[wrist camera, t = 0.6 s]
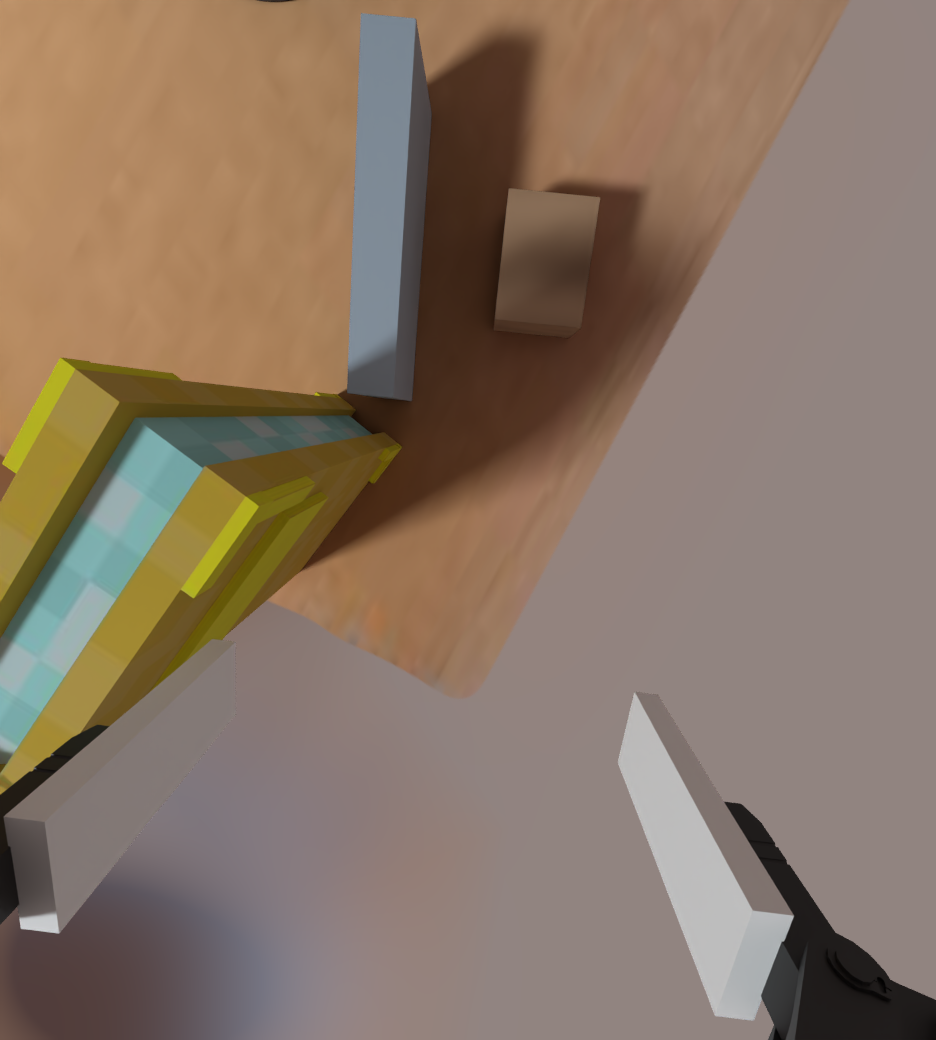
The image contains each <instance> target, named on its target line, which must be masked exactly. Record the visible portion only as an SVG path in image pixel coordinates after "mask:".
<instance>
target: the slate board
mask: <svg viewBox="0 0 936 1040" xmlns="http://www.w3.org/2000/svg"><path fill="white" fill-rule="evenodd" d="M431 118H432V112H431V106H430V100H429V94H428V88H427V82H426V76H425V70H424V64H423V58H422V52H421V46H420V40H419V34H418V28H417V22H416V19H414V18H404V17H394V16H383V15H373V14H362V13H361V29H360V57H359V84H358V111H357V138H356V166H355V193H354V220H353V248H352V275H351V302H350V330H349V357H348V384H347V393H350V394H357V395H363V396H370V397H376V398H386V399H396V400H406V401H412V394H413V380H414V365H415V351H416V336H417V322H418V307H419V293H420V278H421V264H422V249H423V235H424V220H425V206H426V191H427V177H428V162H429V148H430V133H431Z"/></svg>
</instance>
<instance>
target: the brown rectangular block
mask: <svg viewBox="0 0 936 1040" xmlns="http://www.w3.org/2000/svg"><path fill="white" fill-rule="evenodd" d="M599 203H600V197H592V196H582V195H572V194H562V193H552V192H542V191H532V190H522V189H512V188H509V191H508V199H507V208H506V216H505V225H504V235H503V244H502V254H501V263H500V272H499V282H498V291H497V301H496V310H495V320H494V329H493V330H495V331H505V332H515V333H524V334H534V335H544V336H554V337H564V338H570V337H571V336H572V335H573V334H575V333H576V332H577V331H578V330H579V329H580V328H581V325H582V318H583V311H584V304H585V298H586V291H587V284H588V277H589V271H590V264H591V257H592V250H593V244H594V237H595V230H596V223H597V216H598V210H599Z"/></svg>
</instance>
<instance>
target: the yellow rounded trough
mask: <svg viewBox="0 0 936 1040" xmlns="http://www.w3.org/2000/svg"><path fill="white" fill-rule="evenodd" d="M355 411H356V409H355V408H353V407H352V406H351V405H350V404H348V403H347V402H346V401H345V400H343V399H342V398H341V397H340V396H338V395H337V394H326V393H319V392H316V393H315V394H314V395H307V394H298V393H289V392H280V391H271V390H262V389H253V388H244V387H234V386H225V385H216V384H207V383H198V382H189V381H182V380H181V379H180V378H178V377H177V376H176V375H174V374H173V373H165V372H158V371H150V370H142V369H135V368H127V367H119V366H112V365H104V364H97V363H91V362H89V361H82V360H75V359H67V358H60V359H59V361H58V363H57V365H56V366H55V368H54V370H53V372H52V374H51V376H50V377H49V379H48V381H47V383H46V385H45V386H44V388H43V390H42V392H41V394H40V395H39V397H38V399H37V401H36V403H35V405H34V406H33V408H32V410H31V412H30V414H29V415H28V417H27V419H26V421H25V423H24V425H23V426H22V428H21V430H20V432H19V434H18V435H17V437H16V439H15V441H14V443H13V444H12V446H11V448H10V450H9V452H8V454H7V455H6V457H5V459H4V461H3V463H2V464H3V465H5V466H6V467H7V468H9V469H10V470H12V471H13V472H15V473H16V476H15V477H14V479H13V481H12V483H11V484H10V486H9V488H8V490H7V492H6V493H5V495H4V497H3V499H2V500H1V502H0V794H2V793H3V792H4V791H5V790H7V789H8V788H9V787H10V786H12V785H13V784H14V783H15V782H17V781H18V780H19V779H20V778H22V777H23V776H24V775H25V774H27V773H28V772H29V771H33V769H34V767H35V766H37V765H38V764H39V763H40V762H42V761H43V760H44V759H45V758H47V757H50V756H51V754H52V753H53V752H54V751H55V750H57V749H58V748H59V747H60V746H62V745H63V744H64V743H65V742H67V741H68V740H69V739H70V738H72V737H74V736H76V735H78V734H80V733H82V732H84V731H85V730H87V729H89V728H91V727H93V726H95V725H104V726H111V725H112V724H113V723H114V722H115V721H117V720H118V719H119V718H120V717H121V716H122V715H124V714H125V713H126V712H127V711H128V710H129V709H131V708H132V707H133V706H134V705H135V704H137V703H138V702H139V701H140V700H141V699H142V698H144V697H145V696H146V695H147V694H148V693H149V692H151V691H152V690H153V689H154V688H155V687H156V686H158V685H159V684H160V683H161V682H162V681H164V680H165V679H166V678H167V677H168V676H169V675H171V674H172V673H173V672H174V671H175V670H176V669H178V668H179V667H180V666H181V665H182V664H184V663H185V662H186V661H187V660H188V659H189V658H191V657H192V656H193V655H194V654H195V653H196V652H198V651H199V650H200V649H201V648H202V647H204V646H205V645H206V644H207V643H208V642H209V641H211V640H212V639H216V640H223V638H224V637H225V636H226V635H227V634H228V633H229V632H230V631H231V630H233V629H234V628H235V627H236V626H237V625H238V624H239V623H241V622H242V621H243V620H244V619H245V618H246V617H247V616H249V615H250V614H251V613H252V612H253V611H255V610H256V609H257V608H258V607H259V606H260V605H262V604H263V603H264V602H265V601H266V600H267V599H269V598H270V597H271V596H272V595H273V594H274V593H275V592H277V591H278V590H279V589H280V588H281V587H282V586H284V585H285V584H286V583H287V582H288V581H289V580H291V579H292V578H293V577H294V576H295V575H296V574H297V573H299V572H300V571H301V570H302V568H303V567H304V566H305V564H306V563H307V562H308V560H309V559H310V558H311V556H312V555H313V554H314V553H315V551H316V550H317V549H318V547H319V546H320V545H321V543H322V542H323V541H324V539H325V538H326V537H327V536H328V534H329V533H330V532H331V530H332V529H333V528H334V526H335V525H336V524H337V522H338V521H339V520H340V518H341V517H342V516H343V515H344V513H345V512H346V511H347V509H348V508H349V507H350V505H351V504H352V503H353V501H354V500H355V499H356V498H357V496H358V495H359V494H360V492H361V491H362V490H363V488H364V487H365V486H366V484H367V483H368V482H369V481H370V482H371V483H372V484H373V483H375V482H376V481H377V480H378V478H379V477H380V476H381V474H382V473H383V472H384V470H385V469H386V468H387V466H388V465H389V464H390V463H391V461H392V460H393V459H394V457H395V456H396V455H397V453H398V452H399V451H400V450H401V448H402V446H401V445H399V444H398V443H397V442H396V441H394V440H393V439H392V438H391V437H389V436H388V435H387V434H386V433H384V432H383V433H377V434H371V433H370V432H369V431H368V430H366V429H365V428H364V427H363V426H361V425H360V424H359V423H358V422H356V421H355V420H354V419H353V418H351V416H352V415H353V413H354V412H355Z"/></svg>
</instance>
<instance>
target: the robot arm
mask: <svg viewBox="0 0 936 1040" xmlns="http://www.w3.org/2000/svg"><path fill="white" fill-rule="evenodd" d="M259 1H269V2H276V1H286V0H259ZM235 715H236V642H232V641H223V640H216V639H212V640H211V641H209V642H208V643H207V644H206V645H205V646H204V647H202V648H201V649H200V650H199V651H198V652H196V653H195V654H194V655H193V656H192V657H191V658H189V659H188V660H187V661H186V662H185V663H184V664H182V665H181V666H180V667H179V668H178V669H176V670H175V671H174V672H173V673H172V674H171V675H169V676H168V677H167V678H166V679H165V680H164V681H162V682H161V683H160V684H159V685H158V686H156V687H155V688H154V689H153V690H152V691H151V692H149V693H148V694H147V695H146V696H145V697H144V698H142V699H141V700H140V701H139V702H138V703H137V704H135V705H134V706H133V707H132V708H131V709H129V710H128V711H127V712H126V713H125V714H124V715H122V716H121V717H120V718H119V719H118V720H117V721H115V722H114V723H113V724H112V725H111V726H104V725H95V726H93V727H91V728H89V729H87V730H85V731H84V732H82V733H80V734H78V735H76V736H74V737H72V738H70V739H69V740H68V741H67V742H65V743H64V744H63V745H62V746H60V747H59V748H58V749H57V750H55V751H54V752H53V753H52V754H51V756H50V757H47V758H45V759H44V760H43V761H42V762H40V763H39V764H38V765H37V766H35V767H34V769H33V771H29V772H28V773H27V774H25V775H24V776H23V777H22V778H20V779H19V780H18V781H17V782H15V783H14V784H13V785H12V786H10V787H9V788H8V789H7V790H5V791H4V792H3V793H2V794H0V924H1V923H2V922H3V921H4V920H5V919H6V918H7V917H8V916H9V915H10V914H11V913H12V911H13V910H14V909H15V908H16V907H17V906H18V913H19V919H20V926H21V928H22V929H29V930H36V931H44V932H53V933H60V932H61V931H62V929H63V928H64V927H65V926H66V924H67V923H68V922H69V920H70V919H71V918H72V917H73V916H74V914H75V913H76V912H77V911H78V909H79V908H80V907H81V906H82V904H83V903H84V902H85V901H86V900H87V898H88V897H89V896H90V895H91V893H92V892H93V891H94V890H95V888H96V887H97V886H98V885H99V883H100V882H101V881H102V880H103V879H104V877H105V876H106V874H108V872H109V871H110V870H111V869H112V867H113V866H114V865H115V864H116V862H117V861H118V860H119V859H120V857H121V856H122V855H123V854H124V852H125V851H126V850H127V849H128V848H129V846H130V845H131V844H132V843H133V841H134V840H135V839H136V838H137V836H138V835H139V834H140V833H141V831H142V830H143V829H144V828H145V826H146V825H147V824H148V823H149V822H150V820H151V819H152V817H154V815H155V814H156V813H157V811H158V810H159V809H160V808H161V807H162V805H163V804H164V803H165V802H166V800H167V799H168V798H169V797H170V795H171V794H172V793H173V792H174V791H175V789H176V788H177V787H178V786H179V784H180V783H181V782H182V781H183V779H184V778H185V777H186V776H187V774H188V773H189V772H190V771H191V769H192V768H193V767H194V766H195V765H196V763H197V762H198V761H199V759H200V758H201V757H202V756H203V755H204V753H205V752H206V751H207V750H208V748H209V747H210V746H211V744H212V743H213V742H214V741H215V740H216V738H217V737H218V736H219V735H220V734H221V732H222V731H223V730H224V729H225V727H226V726H227V725H228V724H229V722H230V721H231V720H232V719H233V717H234V716H235ZM618 764H619V767H620V769H621V772H622V774H623V777H624V780H625V782H626V785H627V787H628V790H629V793H630V795H631V798H632V800H633V803H634V806H635V808H636V811H637V814H638V816H639V819H640V821H641V824H642V827H643V829H644V832H645V834H646V837H647V840H648V842H649V845H650V847H651V850H652V853H653V855H654V858H655V860H656V863H657V865H658V868H659V871H660V873H661V876H662V879H663V881H664V884H665V887H666V889H667V892H668V894H669V897H670V899H671V902H672V904H673V907H674V910H675V913H676V915H677V918H678V920H679V923H680V926H681V928H682V931H683V933H684V936H685V939H686V941H687V944H688V946H689V949H690V952H691V954H692V957H693V959H694V962H695V965H696V967H697V970H698V972H699V975H700V978H701V980H702V983H703V986H704V988H705V991H706V993H707V996H708V999H709V1001H710V1004H711V1006H712V1009H713V1011H714V1014H715V1016H721V1017H728V1018H737V1019H744V1020H754V1018H755V1015H756V1013H757V1010H758V1008H759V1005H760V1003H761V1000H763V1002H764V1004H765V1006H766V1008H767V1010H768V1012H769V1014H770V1016H771V1018H772V1021H773V1023H774V1027H773V1029H772V1032H771V1034H770V1036H769V1039H768V1040H936V1000H934V999H932V998H930V997H928V996H925V995H923V994H921V993H918V992H916V991H914V990H912V989H909V988H907V987H905V986H902V985H900V984H898V983H896V982H894V981H892V980H890V979H889V977H888V975H887V974H886V972H885V971H884V970H883V969H882V968H881V967H880V965H879V964H877V962H876V961H875V960H874V959H873V958H872V957H871V956H870V955H869V954H868V953H867V952H865V951H864V950H863V949H861V948H860V947H859V946H858V945H856V944H855V943H854V942H852V941H850V940H848V939H846V938H844V937H843V936H841V935H839V934H837V933H835V931H834V930H833V929H832V927H831V926H830V924H829V923H828V921H827V920H826V918H825V917H824V915H823V914H822V912H821V911H820V909H819V908H818V906H817V905H816V903H815V902H814V900H813V899H812V897H811V896H810V894H809V893H808V891H807V890H806V888H805V887H804V886H803V884H802V883H801V881H800V880H799V878H798V877H797V875H796V874H795V872H794V871H793V869H792V868H791V866H790V865H787V862H786V859H785V857H784V856H783V855H782V853H781V851H780V850H779V848H778V847H775V843H774V841H773V840H772V838H771V837H770V835H769V834H768V832H767V831H766V829H765V828H764V826H763V825H762V823H761V822H760V821H759V820H758V819H757V818H755V816H753V815H752V814H751V813H750V812H749V811H748V810H747V809H746V808H745V807H744V806H743V805H742V804H738V803H730V802H724V801H723V800H722V798H721V796H720V795H719V793H718V791H717V790H716V788H715V787H714V785H713V784H712V782H711V780H710V779H709V777H708V775H707V774H706V772H705V770H704V769H703V767H702V765H701V764H700V762H699V761H698V759H697V757H696V756H695V754H694V752H693V751H692V749H691V748H690V746H689V744H688V743H687V741H686V739H685V738H684V736H683V735H682V733H681V731H680V730H679V728H678V726H677V725H676V723H675V722H674V720H673V718H672V717H671V715H670V713H669V712H668V710H667V709H666V707H665V705H664V704H663V702H662V700H661V699H660V697H659V696H658V695H656V694H648V693H640V692H635V693H634V697H633V701H632V705H631V709H630V714H629V718H628V722H627V726H626V730H625V734H624V739H623V743H622V747H621V751H620V755H619V760H618Z"/></svg>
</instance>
